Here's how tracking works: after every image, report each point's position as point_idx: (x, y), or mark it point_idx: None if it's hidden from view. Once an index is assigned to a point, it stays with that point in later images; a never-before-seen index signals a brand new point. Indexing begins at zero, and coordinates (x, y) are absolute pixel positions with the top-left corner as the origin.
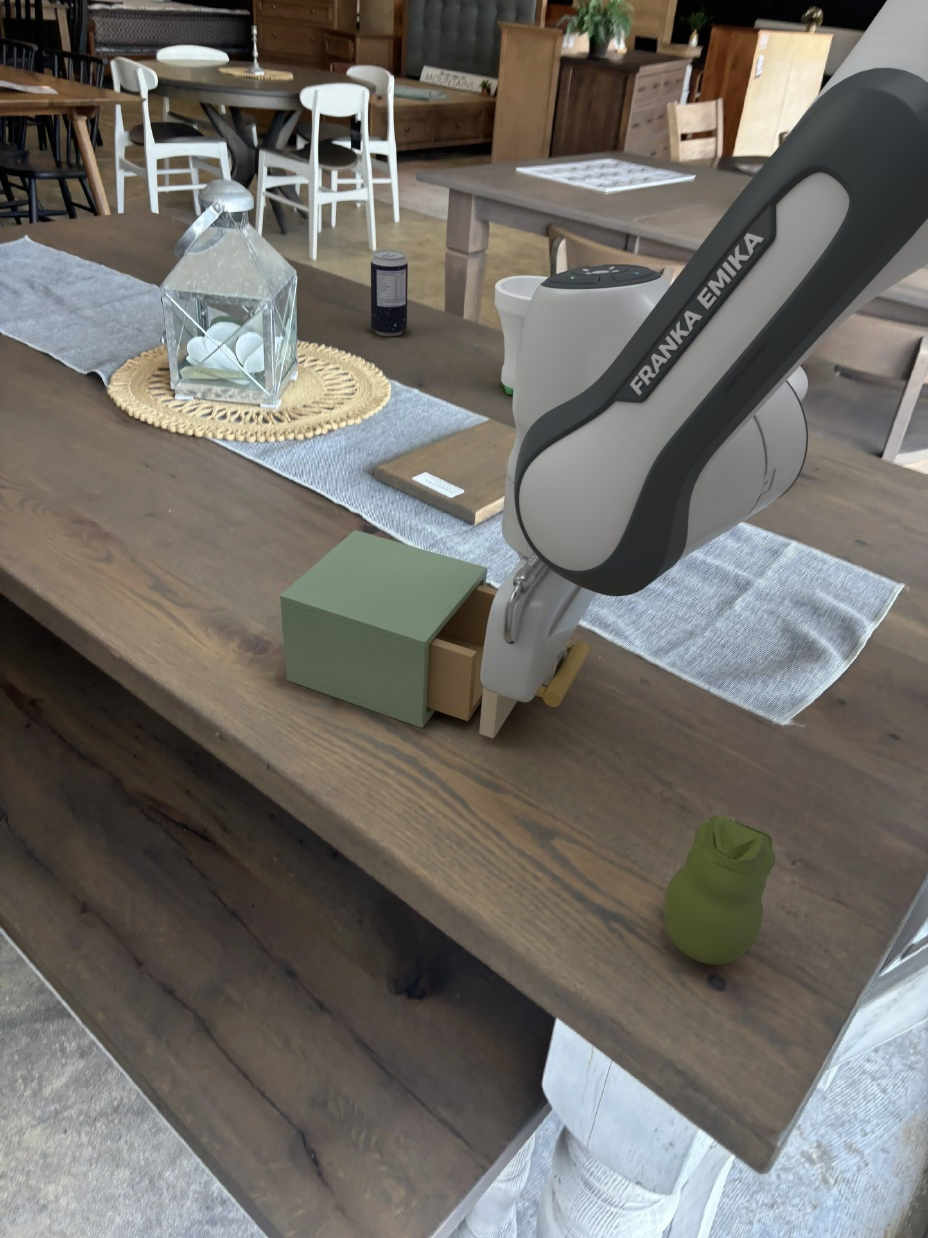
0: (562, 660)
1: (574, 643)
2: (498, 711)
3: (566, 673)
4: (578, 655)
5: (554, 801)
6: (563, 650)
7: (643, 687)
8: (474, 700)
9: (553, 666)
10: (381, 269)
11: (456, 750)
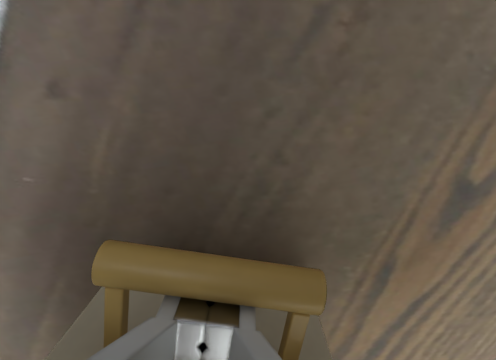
0: (186, 301)
1: (105, 286)
2: (313, 338)
3: (242, 289)
4: (156, 274)
5: (398, 192)
6: (176, 324)
7: (72, 89)
8: None
9: (269, 343)
10: None
11: (327, 328)
